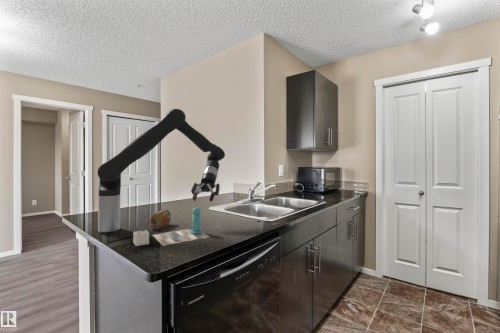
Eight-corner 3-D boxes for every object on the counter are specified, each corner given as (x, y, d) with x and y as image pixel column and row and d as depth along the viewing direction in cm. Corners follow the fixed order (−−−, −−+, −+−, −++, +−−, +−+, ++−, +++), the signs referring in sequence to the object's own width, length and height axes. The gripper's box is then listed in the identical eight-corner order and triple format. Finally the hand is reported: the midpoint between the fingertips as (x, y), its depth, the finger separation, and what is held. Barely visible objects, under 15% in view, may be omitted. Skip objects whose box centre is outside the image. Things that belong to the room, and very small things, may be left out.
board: (163, 246, 97) (163, 245, 97) (151, 235, 111) (151, 234, 111) (210, 237, 110) (210, 236, 110) (194, 228, 123) (194, 227, 123)
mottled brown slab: (154, 231, 117) (155, 214, 117) (149, 231, 118) (149, 214, 118) (171, 224, 132) (171, 208, 132) (165, 223, 133) (165, 208, 132)
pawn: (193, 235, 111) (193, 208, 111) (188, 232, 115) (189, 207, 115) (203, 233, 114) (203, 207, 114) (198, 230, 118) (199, 205, 118)
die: (135, 247, 96) (135, 234, 96) (133, 243, 100) (133, 231, 100) (149, 245, 99) (149, 232, 99) (146, 241, 103) (146, 229, 103)
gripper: (195, 171, 131) (186, 195, 120) (221, 172, 129) (214, 196, 118) (199, 180, 137) (190, 204, 126) (223, 181, 135) (217, 205, 123)
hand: (202, 200), depth 122 cm, fingers open, 8 cm apart
